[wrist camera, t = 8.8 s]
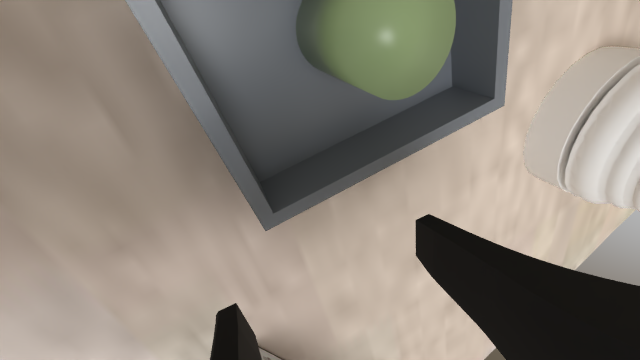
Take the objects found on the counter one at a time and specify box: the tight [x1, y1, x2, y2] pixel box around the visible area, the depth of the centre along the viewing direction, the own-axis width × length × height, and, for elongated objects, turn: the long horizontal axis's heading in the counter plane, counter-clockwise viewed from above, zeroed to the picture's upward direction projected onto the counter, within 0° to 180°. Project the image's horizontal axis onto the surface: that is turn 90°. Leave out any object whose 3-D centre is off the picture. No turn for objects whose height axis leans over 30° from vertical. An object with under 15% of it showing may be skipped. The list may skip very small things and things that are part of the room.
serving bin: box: [125, 0, 512, 231], centre depth 14 cm, size 16×14×4 cm
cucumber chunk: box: [296, 0, 456, 100], centre depth 13 cm, size 4×4×6 cm
